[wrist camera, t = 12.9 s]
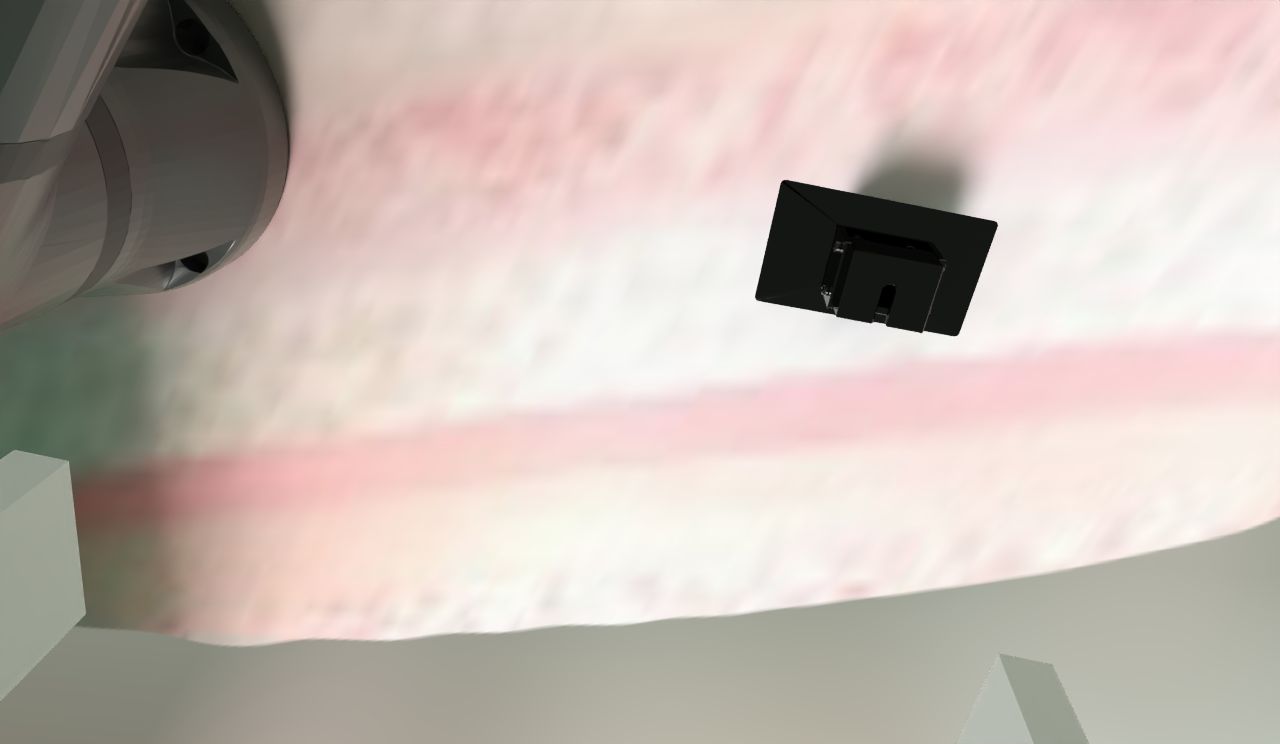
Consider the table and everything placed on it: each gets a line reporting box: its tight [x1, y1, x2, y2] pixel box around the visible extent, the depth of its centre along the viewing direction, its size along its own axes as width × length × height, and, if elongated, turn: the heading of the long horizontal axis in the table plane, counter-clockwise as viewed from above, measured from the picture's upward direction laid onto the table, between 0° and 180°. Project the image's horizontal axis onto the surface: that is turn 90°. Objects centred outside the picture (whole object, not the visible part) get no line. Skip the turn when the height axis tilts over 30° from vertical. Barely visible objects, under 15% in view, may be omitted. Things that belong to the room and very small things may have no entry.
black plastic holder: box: [755, 180, 998, 336], centre depth 37 cm, size 12×7×5 cm, turn 81°
